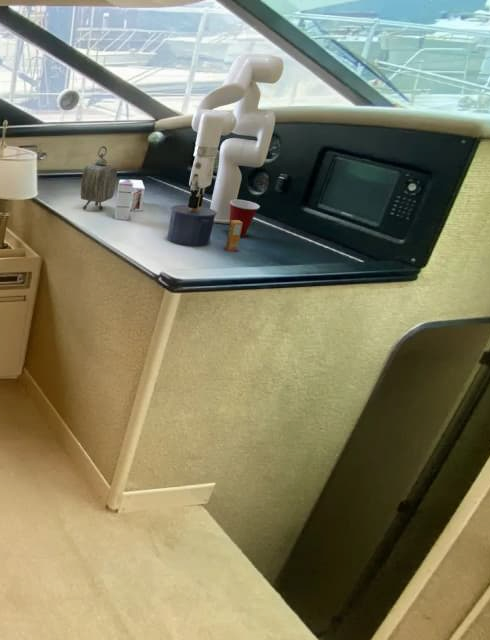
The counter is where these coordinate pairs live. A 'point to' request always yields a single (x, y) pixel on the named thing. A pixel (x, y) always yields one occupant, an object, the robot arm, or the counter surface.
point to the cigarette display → (137, 195)
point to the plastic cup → (243, 213)
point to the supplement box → (234, 235)
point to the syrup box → (124, 199)
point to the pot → (190, 229)
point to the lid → (194, 210)
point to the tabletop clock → (98, 181)
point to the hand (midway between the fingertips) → (194, 206)
